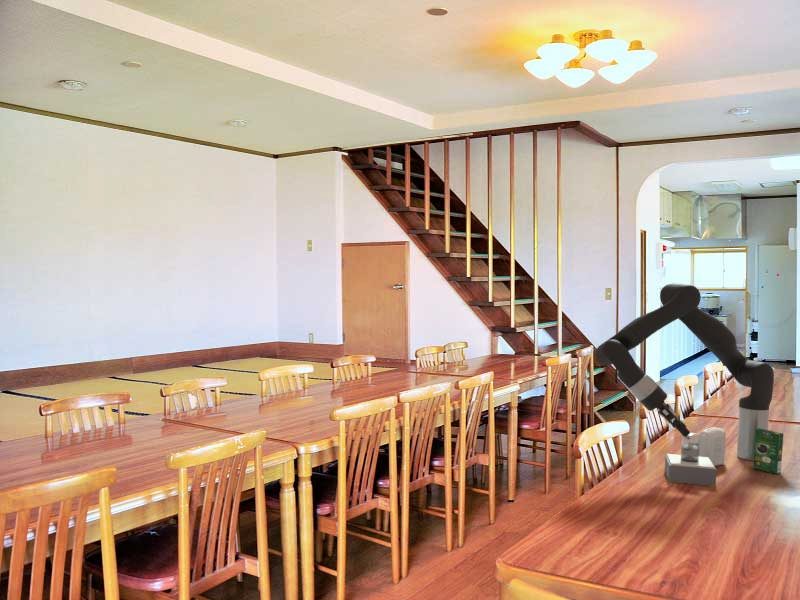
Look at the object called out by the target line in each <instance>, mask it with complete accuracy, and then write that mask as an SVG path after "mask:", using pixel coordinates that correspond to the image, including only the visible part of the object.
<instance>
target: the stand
mask: <svg viewBox="0 0 800 600" xmlns="http://www.w3.org/2000/svg"><path fill="white" fill-rule="evenodd" d="M664 456H665V457H664V472H666V473H665V475H667V476H666V479H667V480H668V483H675V482H676V483H675V484H685V483H687V485H696V484H697V486H706V485H711V486H710V487H717V486H716V485H717V468H716V466H714V465H713V463H712V462H711V460H710V459H709V458H708V457H699V461H698V462H685V461H682V460H681V454H674V453H666V454H665V455H664Z"/></svg>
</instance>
